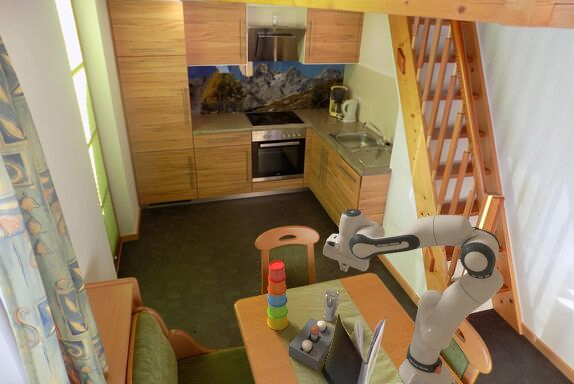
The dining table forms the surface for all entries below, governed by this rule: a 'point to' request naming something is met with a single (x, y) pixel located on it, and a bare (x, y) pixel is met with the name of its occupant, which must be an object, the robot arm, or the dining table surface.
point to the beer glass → (330, 305)
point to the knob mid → (314, 332)
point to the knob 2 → (321, 326)
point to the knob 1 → (307, 346)
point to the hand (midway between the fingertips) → (343, 270)
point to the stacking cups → (277, 296)
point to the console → (318, 346)
